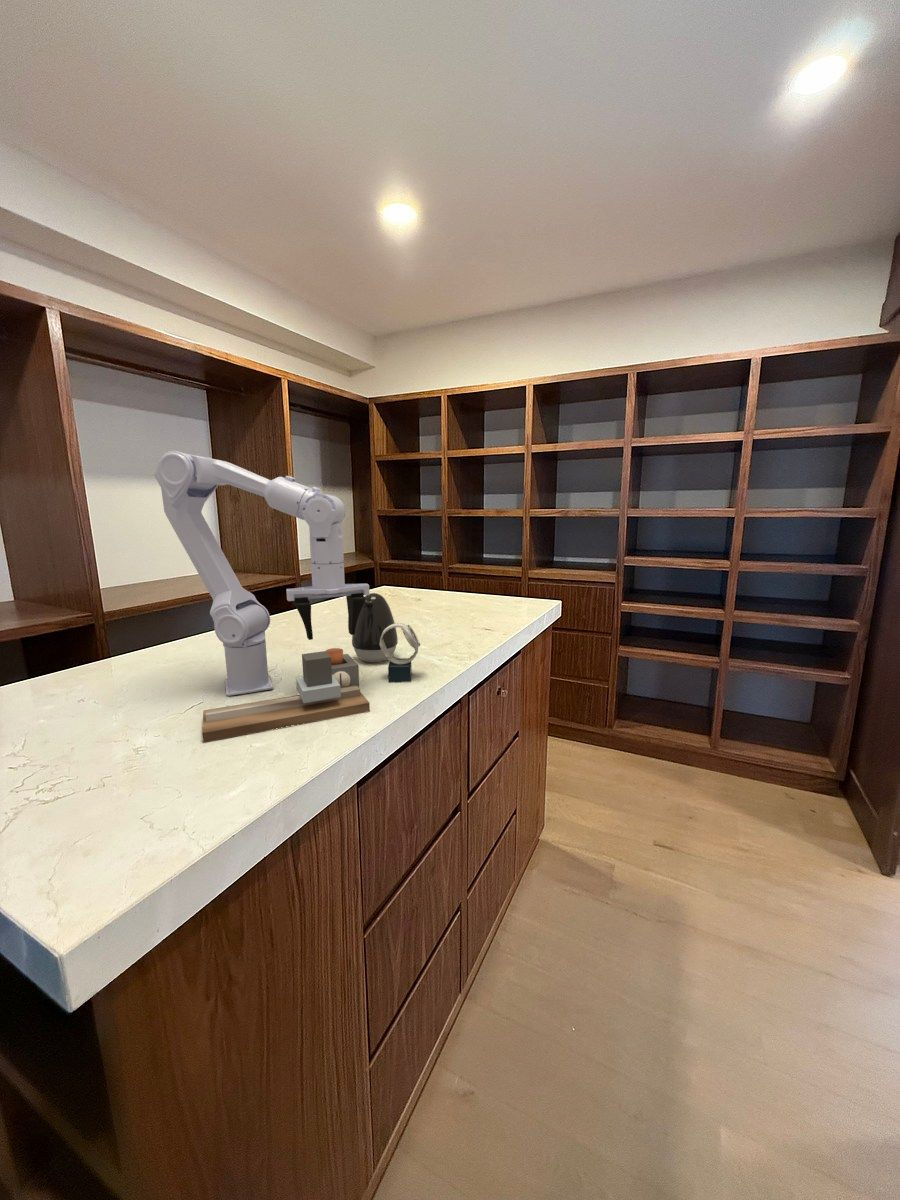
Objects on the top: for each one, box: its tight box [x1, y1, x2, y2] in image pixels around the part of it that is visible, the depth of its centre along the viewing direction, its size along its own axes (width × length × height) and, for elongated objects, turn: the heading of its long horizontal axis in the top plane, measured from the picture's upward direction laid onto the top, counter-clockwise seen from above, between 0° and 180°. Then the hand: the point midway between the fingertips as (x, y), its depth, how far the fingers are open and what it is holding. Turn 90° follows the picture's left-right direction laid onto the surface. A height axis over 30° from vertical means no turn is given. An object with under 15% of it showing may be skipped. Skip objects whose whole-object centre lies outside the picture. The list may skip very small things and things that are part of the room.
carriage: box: [295, 650, 341, 703], centre depth 80 cm, size 7×6×6 cm
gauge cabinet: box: [331, 653, 360, 688], centre depth 91 cm, size 8×7×5 cm
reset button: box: [325, 647, 344, 665], centre depth 91 cm, size 3×3×2 cm
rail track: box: [201, 686, 371, 744], centre depth 79 cm, size 9×25×3 cm, turn 116°
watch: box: [380, 622, 421, 683], centre depth 96 cm, size 6×8×11 cm
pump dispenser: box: [351, 592, 399, 663], centre depth 108 cm, size 10×10×15 cm
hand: (331, 636), depth 89 cm, fingers open, 7 cm apart
